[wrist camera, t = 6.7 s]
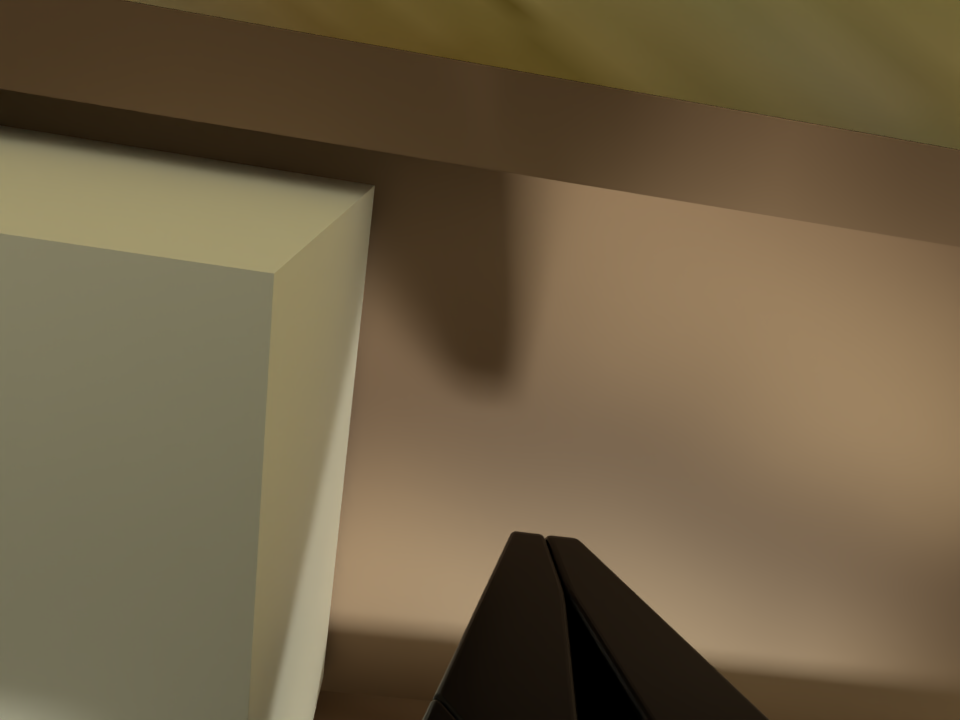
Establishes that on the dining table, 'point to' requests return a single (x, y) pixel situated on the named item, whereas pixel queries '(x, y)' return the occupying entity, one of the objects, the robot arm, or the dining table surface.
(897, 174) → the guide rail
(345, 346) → the carriage
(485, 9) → the dining table surface
